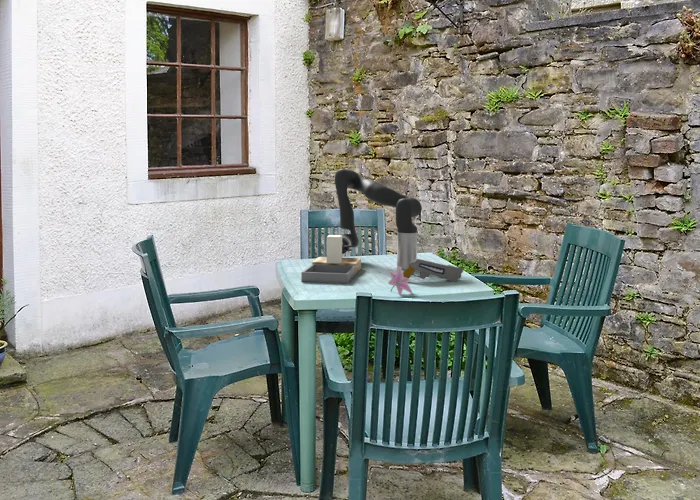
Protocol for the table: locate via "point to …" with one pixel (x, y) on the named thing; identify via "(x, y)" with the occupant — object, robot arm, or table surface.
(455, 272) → the gun
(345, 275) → the box
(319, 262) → the tan flat block
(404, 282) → the lily
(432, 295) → the table surface
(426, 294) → the table surface
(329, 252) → the cream block
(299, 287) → the table surface
